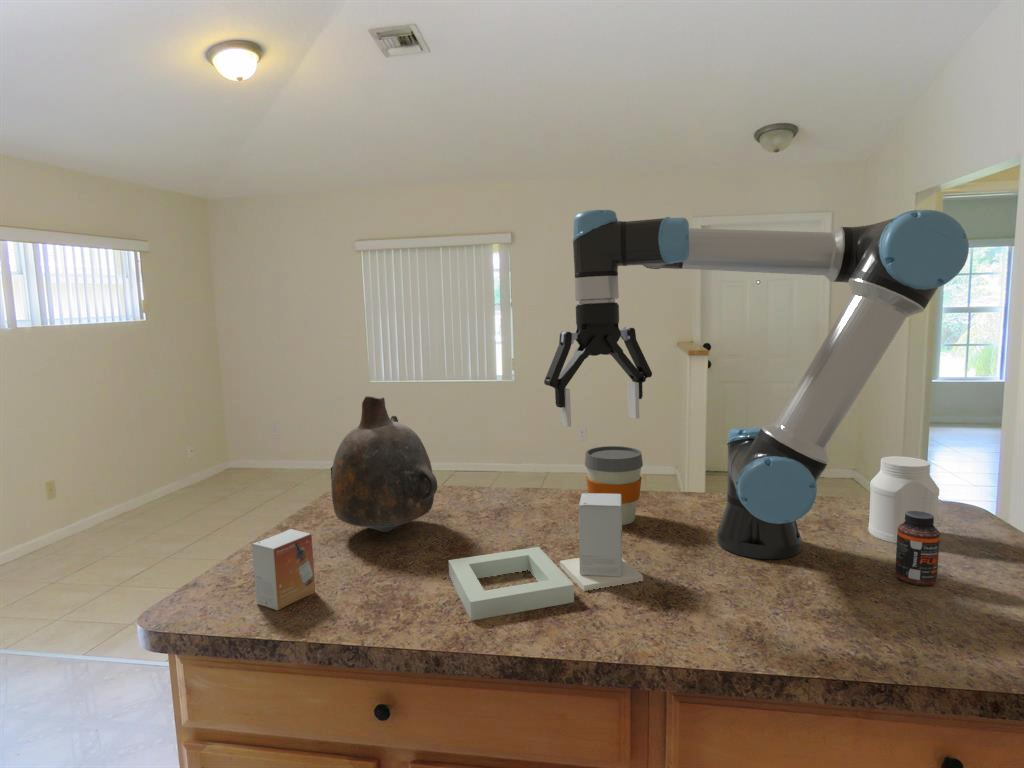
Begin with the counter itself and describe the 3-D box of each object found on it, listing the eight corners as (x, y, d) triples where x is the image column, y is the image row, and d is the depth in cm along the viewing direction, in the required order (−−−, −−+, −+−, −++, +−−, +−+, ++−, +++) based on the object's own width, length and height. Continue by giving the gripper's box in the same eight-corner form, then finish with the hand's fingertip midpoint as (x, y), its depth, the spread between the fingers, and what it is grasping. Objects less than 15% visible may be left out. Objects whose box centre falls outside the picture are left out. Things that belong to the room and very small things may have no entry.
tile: (614, 557, 119) (614, 552, 119) (643, 581, 109) (643, 575, 108) (559, 565, 116) (559, 560, 116) (583, 591, 105) (583, 585, 105)
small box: (277, 612, 102) (272, 549, 100) (255, 604, 105) (250, 543, 103) (316, 592, 108) (312, 533, 107) (295, 585, 111) (290, 527, 110)
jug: (445, 512, 148) (439, 385, 144) (437, 548, 126) (430, 399, 123) (340, 517, 147) (331, 389, 143) (314, 553, 126) (303, 404, 122)
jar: (922, 527, 129) (926, 455, 127) (945, 545, 120) (950, 468, 118) (861, 525, 131) (864, 454, 129) (879, 542, 122) (882, 466, 120)
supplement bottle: (923, 590, 102) (927, 522, 101) (887, 576, 107) (890, 512, 106) (944, 581, 105) (948, 515, 103) (908, 569, 110) (911, 506, 109)
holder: (538, 562, 118) (538, 546, 117) (574, 602, 102) (573, 584, 101) (449, 576, 113) (448, 560, 113) (471, 620, 97) (470, 602, 96)
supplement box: (622, 577, 108) (621, 506, 106) (578, 575, 109) (577, 504, 108) (622, 560, 115) (622, 492, 113) (582, 558, 116) (580, 491, 115)
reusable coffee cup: (576, 522, 138) (574, 455, 136) (599, 506, 149) (598, 443, 147) (630, 532, 132) (630, 461, 130) (651, 514, 142) (650, 448, 140)
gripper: (647, 299, 118) (649, 411, 121) (522, 305, 110) (528, 425, 113) (670, 298, 111) (672, 417, 114) (539, 304, 103) (544, 432, 106)
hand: (600, 421), depth 113 cm, fingers open, 13 cm apart
